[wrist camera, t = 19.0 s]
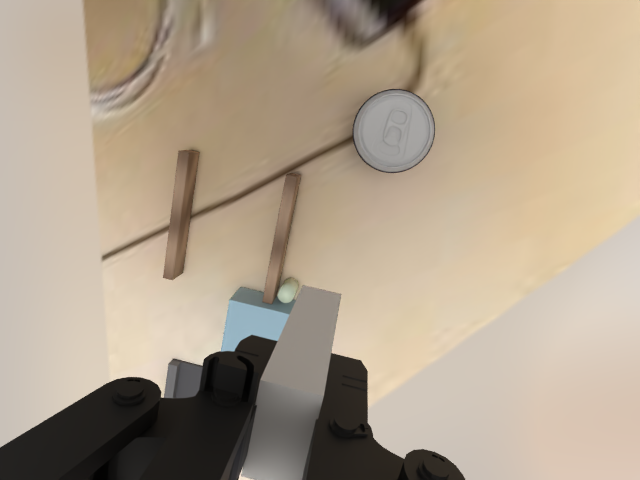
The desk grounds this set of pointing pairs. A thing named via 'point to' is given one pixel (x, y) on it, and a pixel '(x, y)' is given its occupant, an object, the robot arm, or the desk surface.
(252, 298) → the block
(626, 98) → the desk surface
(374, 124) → the beverage can
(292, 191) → the parallel brown rails
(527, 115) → the desk surface
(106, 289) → the desk surface
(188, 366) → the tray
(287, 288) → the goal posts
